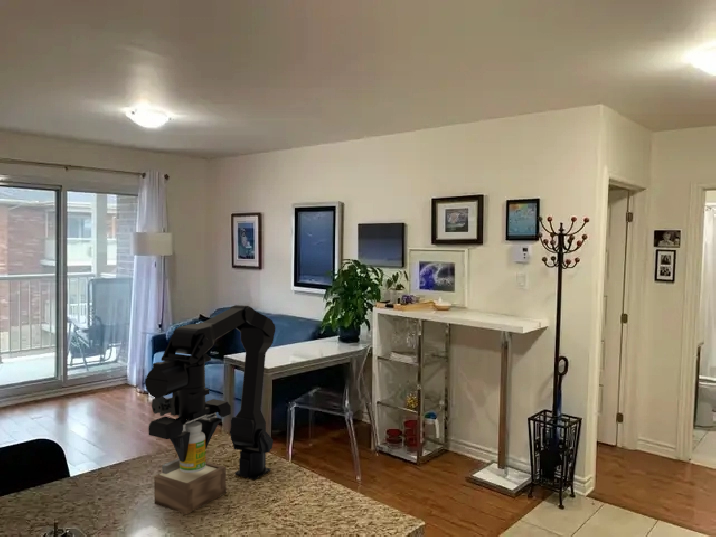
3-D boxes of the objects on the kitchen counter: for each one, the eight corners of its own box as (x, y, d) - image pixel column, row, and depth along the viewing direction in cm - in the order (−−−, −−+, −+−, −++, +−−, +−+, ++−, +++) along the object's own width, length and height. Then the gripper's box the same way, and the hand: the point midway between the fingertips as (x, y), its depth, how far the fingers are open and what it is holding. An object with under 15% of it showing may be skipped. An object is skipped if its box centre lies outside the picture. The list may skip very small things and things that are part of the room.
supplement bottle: (198, 474, 116) (197, 429, 116) (174, 472, 117) (174, 427, 117) (210, 464, 121) (209, 420, 121) (187, 462, 122) (186, 419, 122)
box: (194, 483, 134) (194, 458, 134) (225, 493, 129) (225, 466, 129) (154, 503, 123) (154, 476, 123) (186, 514, 118) (186, 486, 118)
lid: (189, 463, 132) (189, 453, 132) (217, 471, 128) (217, 461, 128) (158, 477, 124) (158, 466, 124) (187, 486, 120) (187, 475, 120)
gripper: (195, 371, 130) (196, 436, 131) (129, 391, 114) (130, 465, 115) (231, 377, 125) (232, 445, 126) (167, 398, 109) (169, 476, 110)
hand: (192, 456), depth 119 cm, fingers closed on supplement bottle, 5 cm apart
